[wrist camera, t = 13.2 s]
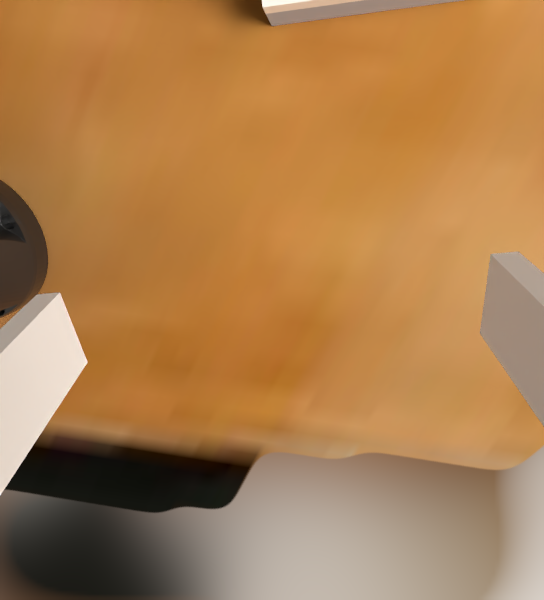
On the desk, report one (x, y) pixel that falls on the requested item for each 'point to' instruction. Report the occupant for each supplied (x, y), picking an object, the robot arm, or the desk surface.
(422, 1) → the tray
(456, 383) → the desk surface
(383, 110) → the desk surface
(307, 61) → the desk surface
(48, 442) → the desk surface
